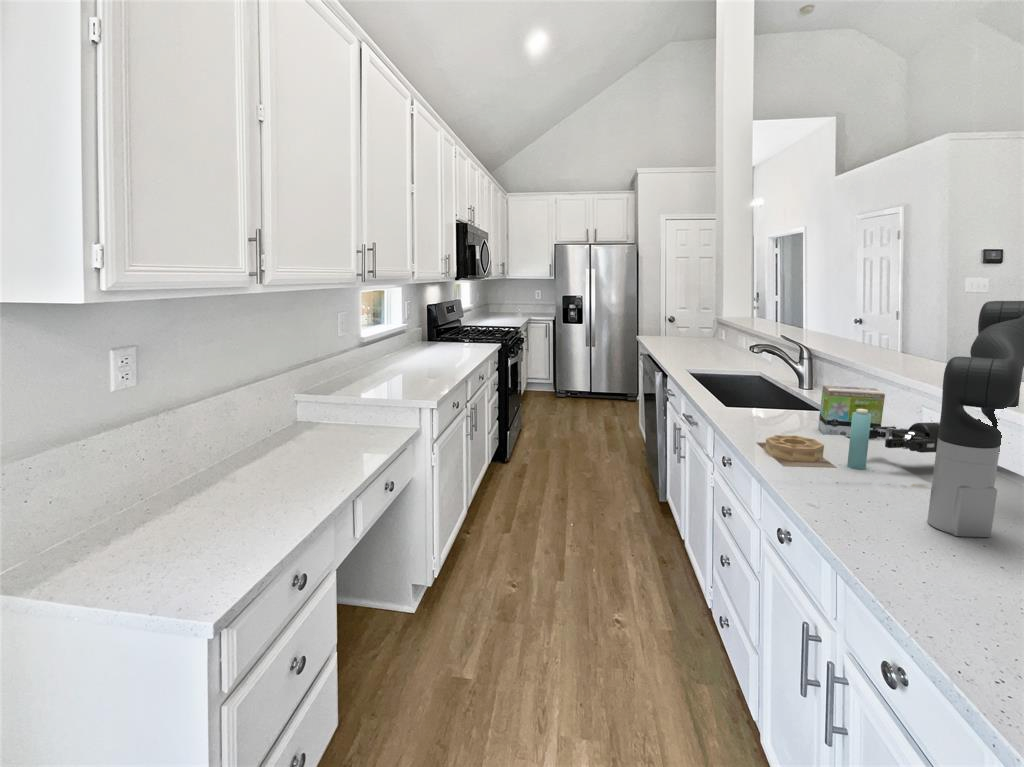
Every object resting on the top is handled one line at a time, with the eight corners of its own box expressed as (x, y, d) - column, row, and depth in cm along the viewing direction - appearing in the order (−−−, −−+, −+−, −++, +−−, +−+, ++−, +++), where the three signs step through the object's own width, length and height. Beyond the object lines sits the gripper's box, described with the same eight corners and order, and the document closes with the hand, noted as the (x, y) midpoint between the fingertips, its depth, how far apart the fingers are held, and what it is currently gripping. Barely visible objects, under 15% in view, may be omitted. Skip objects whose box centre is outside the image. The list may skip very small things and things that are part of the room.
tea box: (825, 437, 173) (829, 390, 171) (817, 429, 183) (821, 384, 180) (880, 440, 169) (885, 392, 166) (870, 432, 178) (874, 386, 176)
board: (836, 472, 141) (837, 467, 140) (783, 470, 142) (783, 466, 142) (801, 447, 162) (802, 443, 162) (755, 446, 164) (755, 442, 163)
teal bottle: (868, 474, 139) (875, 411, 136) (851, 473, 139) (857, 411, 137) (860, 469, 143) (866, 408, 140) (843, 468, 143) (849, 408, 141)
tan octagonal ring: (829, 462, 145) (830, 449, 144) (777, 460, 146) (778, 448, 146) (808, 447, 158) (809, 435, 157) (760, 446, 159) (761, 434, 158)
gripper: (915, 416, 147) (856, 417, 146) (961, 430, 133) (896, 431, 132) (912, 443, 149) (853, 445, 148) (957, 460, 134) (893, 461, 133)
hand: (874, 438), depth 140 cm, fingers open, 8 cm apart
